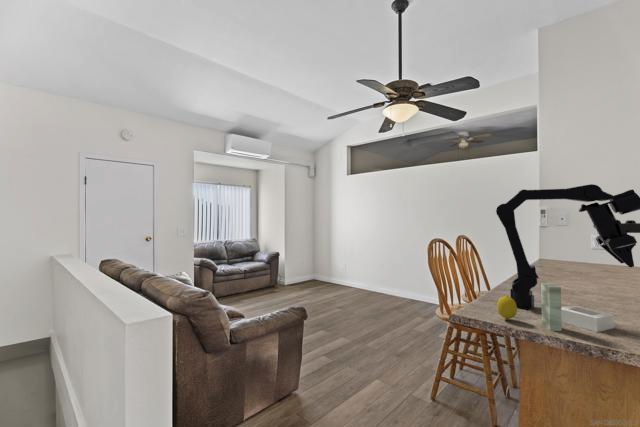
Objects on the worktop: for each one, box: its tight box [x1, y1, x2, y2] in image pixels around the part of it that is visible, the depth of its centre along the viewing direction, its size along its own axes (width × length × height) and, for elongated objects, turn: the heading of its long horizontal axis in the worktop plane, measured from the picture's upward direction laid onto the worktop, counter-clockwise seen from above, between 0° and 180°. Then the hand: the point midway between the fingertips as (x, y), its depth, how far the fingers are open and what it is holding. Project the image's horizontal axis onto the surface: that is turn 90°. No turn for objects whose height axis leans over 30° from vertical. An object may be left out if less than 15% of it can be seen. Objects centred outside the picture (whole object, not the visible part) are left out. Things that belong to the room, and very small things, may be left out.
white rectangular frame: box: [561, 304, 615, 333], centre depth 94 cm, size 11×9×4 cm
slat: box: [540, 282, 563, 332], centre depth 91 cm, size 5×3×13 cm, turn 166°
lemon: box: [496, 295, 518, 321], centre depth 98 cm, size 6×6×8 cm
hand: (627, 264), depth 97 cm, fingers open, 9 cm apart
